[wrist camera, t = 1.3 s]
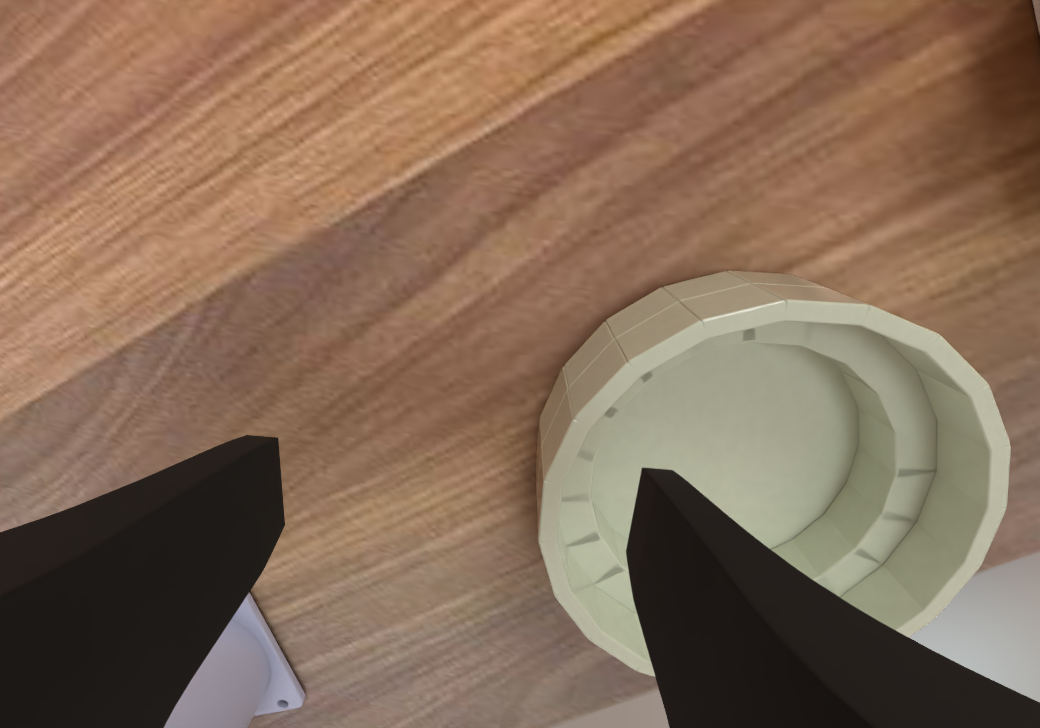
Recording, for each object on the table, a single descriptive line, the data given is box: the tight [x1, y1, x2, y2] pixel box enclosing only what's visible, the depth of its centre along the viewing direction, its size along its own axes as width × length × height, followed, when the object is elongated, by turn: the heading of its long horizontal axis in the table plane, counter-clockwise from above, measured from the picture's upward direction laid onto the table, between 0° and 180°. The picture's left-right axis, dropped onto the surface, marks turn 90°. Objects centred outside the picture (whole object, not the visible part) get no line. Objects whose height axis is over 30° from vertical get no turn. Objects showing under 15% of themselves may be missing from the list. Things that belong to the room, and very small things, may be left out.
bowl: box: [536, 270, 1011, 677], centre depth 19 cm, size 14×14×5 cm
